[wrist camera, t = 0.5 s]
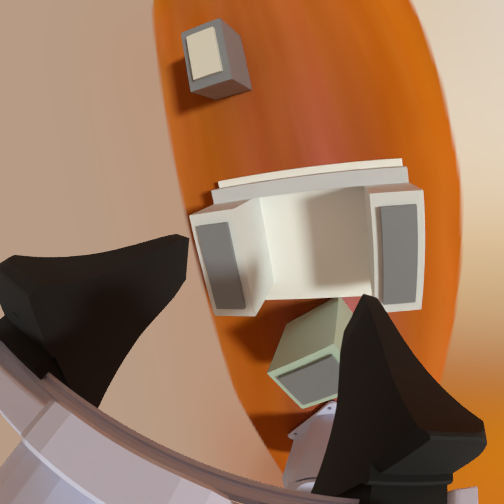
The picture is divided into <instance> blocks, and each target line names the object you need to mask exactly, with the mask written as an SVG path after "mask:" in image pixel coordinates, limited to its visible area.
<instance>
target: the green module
mask: <svg viewBox="0 0 504 504" xmlns="http://www.w3.org/2000/svg"><path fill="white" fill-rule="evenodd" d="M352 315H353V313H352V312H351V310H350V309H349V307H348V306H347V305H346V303H345V302H344V300H343V299H342V298H341V297H334V298H332V299H330V300H329V301H327V302H325V303H323V304H322V305H320V306H318V307H316V308H315V309H313V310H311V311H309V312H307V313H306V314H304V315H302V316H300V317H298V318H296V319H295V320H293V321H291V322H289V323H287V324H286V327H285V329H284V332H283V334H282V337H281V339H280V342H279V344H278V347H277V350H276V352H275V354H274V357H273V359H272V362H271V364H270V367H269V369H268V372H267V374H268V375H269V376H270V377H271V378H272V379H273V380H274V381H275V382H276V383H277V384H278V385H279V386H280V387H281V388H282V389H283V390H284V391H285V392H286V393H287V394H288V395H289V396H290V397H291V398H292V399H293V400H294V401H295V402H296V403H297V404H298V405H299V406H300V407H301V408H302V409H304V408H307V407H310V406H313V405H316V404H319V403H322V402H325V401H328V400H331V399H333V398H336V397H337V396H338V381H339V363H340V350H341V344H342V338H343V333H344V330H345V328H346V326H347V324H348V323H349V321H350V319H351V317H352Z"/></svg>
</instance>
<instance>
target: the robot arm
mask: <svg viewBox="0 0 504 504" xmlns="http://www.w3.org/2000/svg"><path fill="white" fill-rule="evenodd" d="M188 244H189V238H187V237H184V236H181V235H178V234H174V235H169V236H165V237H161V238H157V239H154V240H150V241H146V242H143V243H139V244H136V245H132V246H128V247H124V248H121V249H117V250H112V251H107V252H103V253H97V254H90V255H82V256H71V257H30V256H19V255H14V256H11V257H9V258H8V259H6V260H5V261H3V262H2V263H0V304H1V307H2V310H3V312H4V314H5V316H4V317H2V318H1V319H0V413H1V415H2V416H3V417H4V418H5V419H6V420H7V422H8V423H9V424H10V425H11V426H12V427H13V428H14V429H15V430H16V431H17V433H18V434H19V435H20V436H21V439H22V441H21V442H20V443H19V444H18V446H17V447H16V448H15V450H14V451H13V452H12V453H11V455H10V456H9V457H8V458H7V460H6V461H5V462H4V463H3V465H2V466H1V467H0V504H238V503H235V502H233V501H236V502H240V503H243V504H478V487H475V486H474V487H468V488H462V489H456V490H452V491H449V492H447V485H448V484H451V483H452V481H453V473H454V472H455V471H457V470H458V469H460V468H462V467H463V466H465V465H466V464H468V463H469V462H471V461H472V460H474V459H475V458H476V457H478V456H479V455H480V454H481V453H482V452H483V450H484V449H485V447H486V445H487V440H486V434H485V429H484V423H483V421H482V420H481V419H479V418H478V417H476V416H475V415H474V414H472V413H471V412H470V411H468V410H467V409H466V408H464V407H463V406H462V405H461V404H460V403H458V402H457V401H456V400H455V399H454V398H453V397H452V396H450V395H449V394H448V393H447V392H446V391H445V390H444V389H443V388H442V387H441V386H440V385H439V384H438V382H437V381H436V380H435V379H434V378H433V377H432V376H431V375H430V374H429V373H428V372H427V370H426V369H425V368H424V367H423V365H422V364H421V363H420V362H419V360H418V359H417V358H416V357H415V355H414V354H413V352H412V351H411V350H410V348H409V347H408V345H407V344H406V342H405V341H404V339H403V338H402V336H401V335H400V333H399V332H398V330H397V328H396V327H395V325H394V324H393V322H392V320H391V319H390V317H389V315H388V314H387V312H386V311H385V309H384V307H383V306H382V304H381V303H380V301H379V300H378V299H377V298H376V297H373V296H369V295H366V294H363V295H362V297H361V299H360V301H359V303H358V305H357V307H356V309H355V311H354V313H353V315H352V317H351V319H350V321H349V323H348V324H347V326H346V328H345V330H344V333H343V338H342V344H341V350H340V363H339V381H338V396H337V402H335V401H329V402H328V403H327V404H326V405H324V406H323V407H322V408H321V409H320V410H318V411H317V412H316V413H315V414H313V415H312V416H311V417H310V418H309V419H307V420H306V421H305V422H303V423H302V424H301V425H300V426H298V427H297V428H296V429H294V430H293V431H292V432H290V433H289V434H288V437H289V438H290V439H293V440H294V441H293V444H292V448H291V451H290V454H289V457H288V461H287V464H286V467H285V470H284V473H283V484H284V487H285V488H281V487H277V486H273V485H269V484H265V483H261V482H258V481H254V480H251V479H247V478H244V477H240V476H237V475H234V474H231V473H228V472H225V471H222V470H220V469H217V468H214V467H211V466H209V465H206V464H204V463H201V462H198V461H196V460H194V459H191V458H189V457H187V456H184V455H182V454H180V453H177V452H175V451H173V450H171V449H169V448H167V447H165V446H163V445H160V444H158V443H156V442H154V441H153V440H151V439H149V438H147V437H145V436H143V435H141V434H139V433H137V432H136V431H134V430H132V429H130V428H128V427H127V426H125V425H123V424H122V423H120V422H118V421H117V420H115V419H113V418H112V417H110V416H109V415H107V414H105V413H104V412H102V411H101V410H99V409H98V407H99V405H100V403H101V401H102V398H103V396H104V394H105V392H106V390H107V388H108V386H109V385H110V383H111V381H112V379H113V377H114V375H115V374H116V372H117V370H118V368H119V367H120V365H121V364H122V362H123V360H124V359H125V357H126V355H127V354H128V352H129V351H130V349H131V348H132V346H133V345H134V343H135V342H136V341H137V339H138V338H139V336H140V335H141V334H142V333H143V331H144V330H145V329H146V328H147V327H148V326H149V324H150V323H151V322H152V321H153V320H154V319H155V318H156V317H157V316H158V314H159V313H160V312H161V311H162V310H163V309H164V308H165V306H167V304H168V303H169V302H170V301H171V300H172V298H174V296H175V295H176V293H177V292H178V290H179V289H180V287H181V286H182V284H183V282H184V281H185V280H186V270H187V257H188V246H189V245H188ZM231 500H233V501H231Z"/></svg>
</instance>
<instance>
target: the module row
mask: <svg viewBox="0 0 504 504" xmlns="http://www.w3.org/2000/svg"><path fill="white" fill-rule="evenodd" d="M218 184H219V188H218V189H215V190H212V191H211V192H212V197H213V202H214V204H213V205H211V206H209V207H207V208H204V209H202V210H200V211H198V212H196V213H193V214H191V215H189V217H190V222H191V226H192V230H193V235H194V239H195V243H196V247H197V251H198V255H199V259H200V263H201V267H202V271H203V275H204V279H205V283H206V287H207V290H208V294H209V298H210V302H211V305H212V309H213V312H214V315H216V316H256V314H257V313H258V311H259V309H260V307H261V306H262V304H263V302H264V300H276V299H310V298H334V297H353V296H362V295H363V294H366V295H372V296H373V297H376V298H377V299H378V300H379V301H380V303H381V304H382V306H383V307H384V309H385V311H386V312H396V311H408V310H419V309H421V306H422V296H423V282H424V263H425V214H424V194H423V190H422V189H420V188H418V187H417V186H415V185H413V184H411V183H409V181H408V171H407V167H406V166H403V164H402V158H394V159H380V160H367V161H356V162H346V163H336V164H327V165H319V166H311V167H303V168H295V169H288V170H281V171H275V172H268V173H262V174H256V175H250V176H244V177H239V178H233V179H228V180H222V181H219V182H218Z"/></svg>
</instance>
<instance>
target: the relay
mask: <svg viewBox="0 0 504 504" xmlns="http://www.w3.org/2000/svg"><path fill="white" fill-rule="evenodd" d="M181 36H182V43H183V49H184V55H185V61H186V67H187V73H188V79H189V85H190V91H191V92H192V93H195V94H199V95H202V96H205V97H208V98H212V99H215V100H217V99H221V98H224V97H228V96H231V95H235V94H239V93H242V92H246V91H250V90H252V88H251V83H250V78H249V73H248V69H247V64H246V59H245V55H244V50H243V46H242V41H241V37H240V35H238V34H237V33H236V32H235V31H234V30H233V29H232V28H231V27H230V26H228V25H227V24H226V23H225V22H224V21H223V20H222V19H220V18H218V19H216V20H213V21H210V22H207V23H205V24H202V25H200V26H197V27H195V28H192V29H190V30H187V31H185V32H183V33H181Z"/></svg>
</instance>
